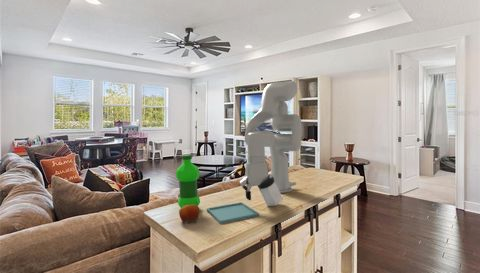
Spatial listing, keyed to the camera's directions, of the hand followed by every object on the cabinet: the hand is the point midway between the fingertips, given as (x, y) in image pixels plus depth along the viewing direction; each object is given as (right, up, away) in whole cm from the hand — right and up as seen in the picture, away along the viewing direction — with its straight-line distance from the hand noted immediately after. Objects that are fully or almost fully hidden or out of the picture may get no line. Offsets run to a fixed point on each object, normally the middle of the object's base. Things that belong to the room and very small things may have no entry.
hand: (257, 197), depth 117 cm
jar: (+8, -2, +4) cm, 9 cm away
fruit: (-28, -7, -13) cm, 31 cm away
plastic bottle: (-31, -6, +1) cm, 32 cm away
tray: (-12, -5, -6) cm, 14 cm away
